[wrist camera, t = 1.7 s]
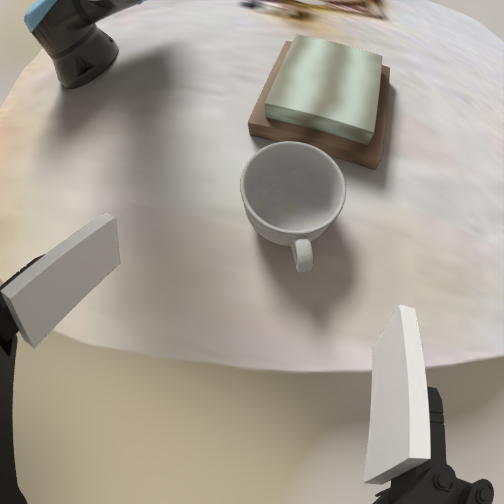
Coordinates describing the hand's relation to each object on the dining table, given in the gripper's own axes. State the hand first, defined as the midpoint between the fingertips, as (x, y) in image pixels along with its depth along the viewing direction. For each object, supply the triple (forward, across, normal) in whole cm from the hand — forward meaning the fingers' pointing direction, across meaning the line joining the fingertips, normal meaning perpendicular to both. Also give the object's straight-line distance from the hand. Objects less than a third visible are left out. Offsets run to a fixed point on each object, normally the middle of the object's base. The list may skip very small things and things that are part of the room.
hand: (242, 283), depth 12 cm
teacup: (+24, 0, -8) cm, 25 cm away
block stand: (+38, 0, +7) cm, 39 cm away
